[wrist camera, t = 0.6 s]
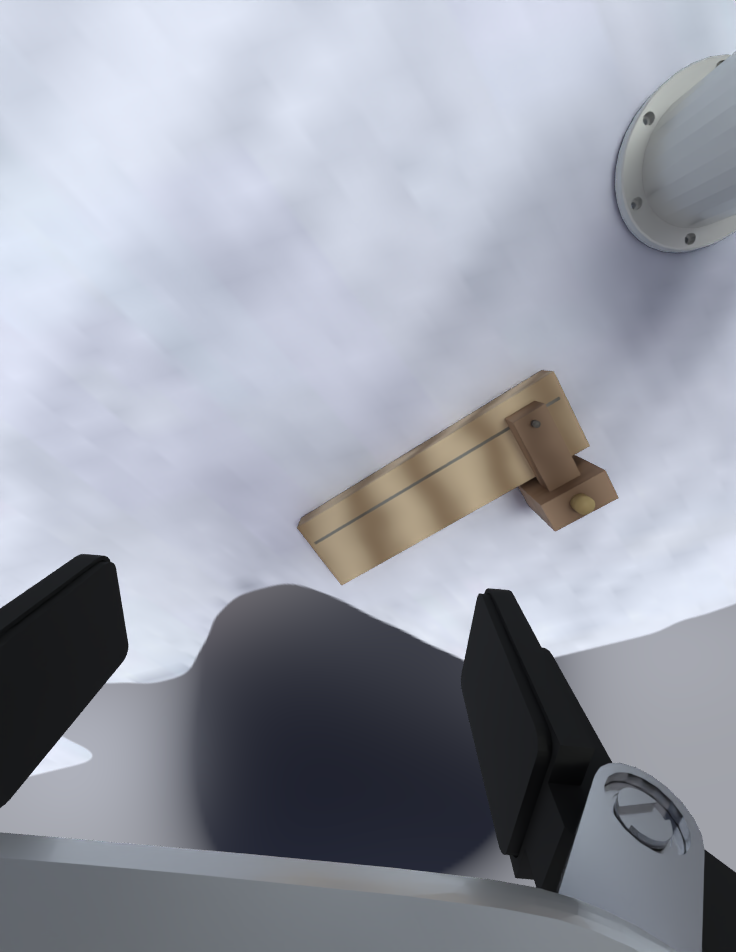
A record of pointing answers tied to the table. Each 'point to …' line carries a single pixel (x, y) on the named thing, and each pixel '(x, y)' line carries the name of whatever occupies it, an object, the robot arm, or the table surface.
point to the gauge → (556, 470)
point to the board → (434, 482)
